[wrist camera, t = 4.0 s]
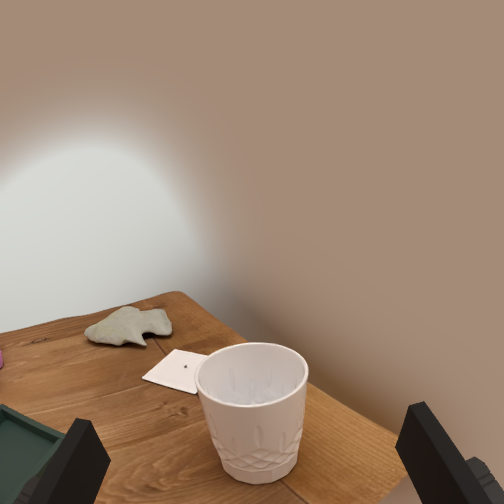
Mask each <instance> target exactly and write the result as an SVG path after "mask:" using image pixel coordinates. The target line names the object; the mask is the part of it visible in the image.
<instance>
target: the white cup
mask: <svg viewBox="0 0 504 504" xmlns="http://www.w3.org/2000/svg"><path fill="white" fill-rule="evenodd" d="M194 379H195V384H196V388H197V391H198V395H199V398H200V402H201V405H202V409H203V412H204V416H205V419H206V422H207V425H208V429H209V432H210V436H211V438H212V441H213V443H214V447H215V448H216V450H217V451H218V454H219V457H220V460H221V463H222V465H223V468H224V470H225V471H226V472H227V473H228V474H229V475H231V476H232V477H233V478H234V479H236V480H238V481H242V482H246V483H250V484H263V483H272V482H274V481H276V480H278V479H280V478H282V477H284V476H286V475H288V473H289V472H290V471H291V469H292V468H293V467H294V465H295V464H296V463H297V456H298V447H299V443H300V440H301V435H302V429H303V423H304V413H305V403H306V392H307V381H308V366H307V363H306V361H305V360H304V359H303V357H302V356H301V355H299V354H298V353H297V352H295V351H294V350H291V349H289V348H287V347H284V346H281V345H277V344H271V343H243V344H237V345H232V346H229V347H225V348H223V349H220V350H218V351H216V352H214V353H212V354H210V355H209V356H207V357H206V358H205V359H203V360H202V361H201V363H200V364H199V365H198V367H197V368H196V371H195V375H194Z"/></svg>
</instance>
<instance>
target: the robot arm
mask: <svg viewBox="0 0 504 504" xmlns="http://www.w3.org/2000/svg"><path fill="white" fill-rule="evenodd" d="M395 448H396V450H397V452H398V454H399V456H400V458H401V460H402V462H403V464H404V466H405V468H406V470H407V472H408V474H409V476H410V479H411V481H412V482H413V485H414V487H415V489H416V491H417V493H418V495H419V497H420V499H421V502H422V504H504V491H503V489H502V488H501V487H500V485H499V483H498V482H497V481H496V480H495V478H494V476H493V475H492V474H491V473H490V470H489V469H488V467H487V466H486V465H485V463H484V462H482V461H481V460H479V459H478V458H476V457H473V458H471V459H469V460H466V461H465V460H464V458H463V457H462V455H461V454H460V452H459V451H458V449H457V448H456V446H455V445H454V443H453V442H452V440H451V439H450V437H449V436H448V434H447V433H446V432H445V430H444V429H443V427H442V426H441V424H440V423H439V421H438V420H437V419H436V417H435V416H434V414H433V413H432V412H431V410H430V409H429V407H428V406H427V405H426V403H425V402H424V401H423V402H420V403H416V404H413V405H409V407H408V410H407V414H406V417H405V420H404V423H403V426H402V429H401V432H400V435H399V438H398V441H397V443H396V446H395ZM110 462H111V459H110V458H109V456H108V454H107V452H106V450H105V448H104V447H103V445H102V443H101V441H100V439H99V437H98V435H97V433H96V431H95V429H94V427H93V425H92V423H91V421H90V420H84V419H79V418H76V419H75V421H74V422H73V424H72V426H71V427H70V429H69V431H68V432H67V434H66V435H65V437H64V439H63V440H62V442H61V444H60V445H59V447H58V449H57V451H56V452H55V454H54V456H53V457H52V459H51V461H50V463H49V464H48V466H47V468H46V470H45V471H44V473H43V475H42V477H41V478H38V477H35V476H33V477H32V478H31V479H29V480H28V481H27V482H26V483H25V485H24V486H23V488H22V490H21V493H19V495H18V497H17V500H15V502H14V504H94V501H95V499H96V496H97V494H98V491H99V489H100V486H101V484H102V481H103V479H104V476H105V474H106V471H107V469H108V466H109V464H110Z"/></svg>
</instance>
